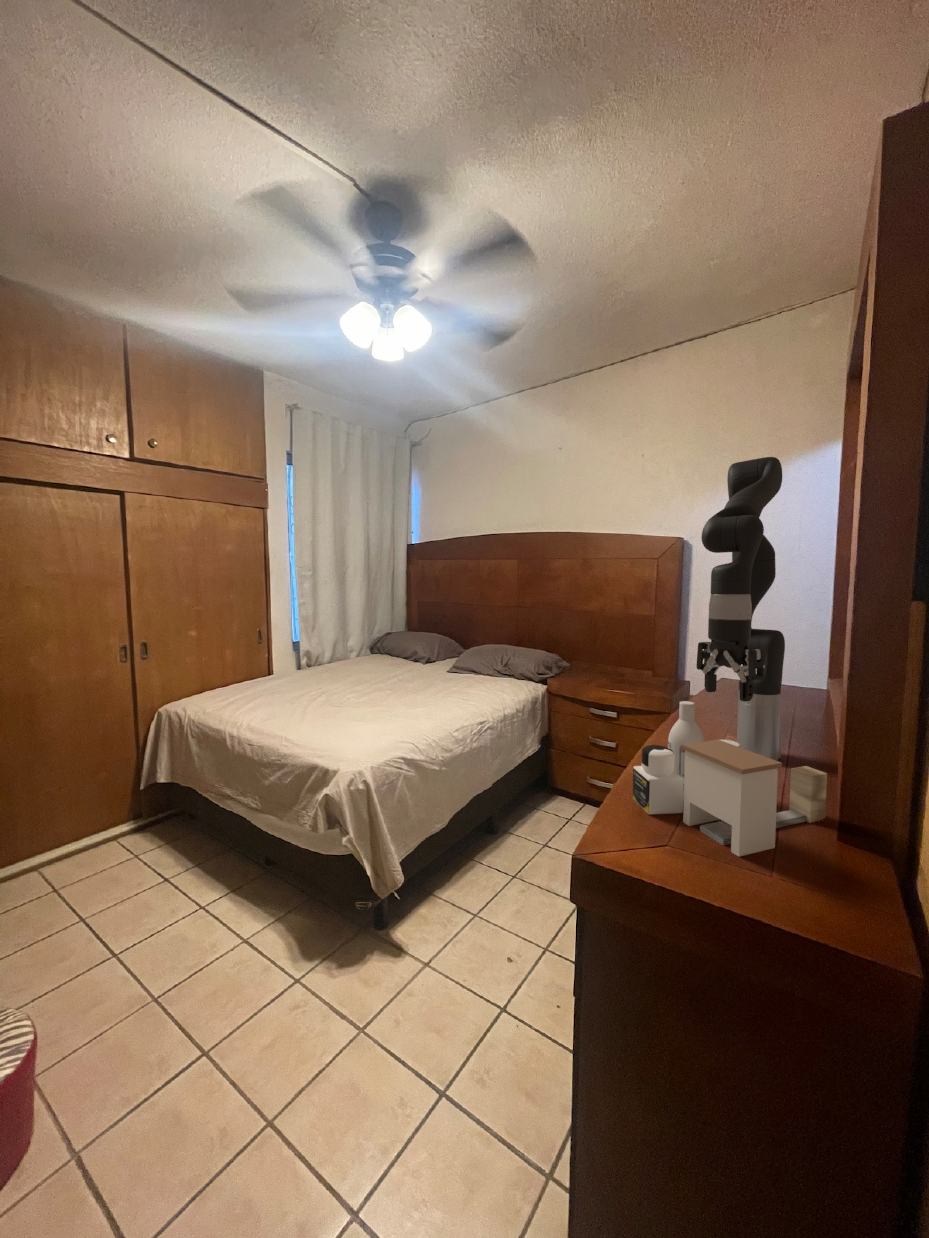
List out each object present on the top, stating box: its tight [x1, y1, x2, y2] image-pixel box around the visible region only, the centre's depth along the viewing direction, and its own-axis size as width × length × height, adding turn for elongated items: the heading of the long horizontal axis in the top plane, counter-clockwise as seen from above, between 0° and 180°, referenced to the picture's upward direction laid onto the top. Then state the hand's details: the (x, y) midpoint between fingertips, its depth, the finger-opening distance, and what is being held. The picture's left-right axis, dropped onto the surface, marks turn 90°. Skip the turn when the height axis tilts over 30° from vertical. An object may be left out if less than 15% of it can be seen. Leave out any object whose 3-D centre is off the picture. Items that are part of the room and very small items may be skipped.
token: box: [699, 820, 732, 846], centre depth 83 cm, size 5×5×2 cm
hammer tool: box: [776, 765, 828, 829], centre depth 88 cm, size 16×4×9 cm, turn 109°
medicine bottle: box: [632, 744, 684, 815], centre depth 94 cm, size 7×7×12 cm
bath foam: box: [667, 700, 705, 802], centre depth 99 cm, size 7×7×20 cm
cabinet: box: [682, 739, 783, 857], centre depth 83 cm, size 9×13×15 cm
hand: (727, 696), depth 95 cm, fingers open, 8 cm apart
